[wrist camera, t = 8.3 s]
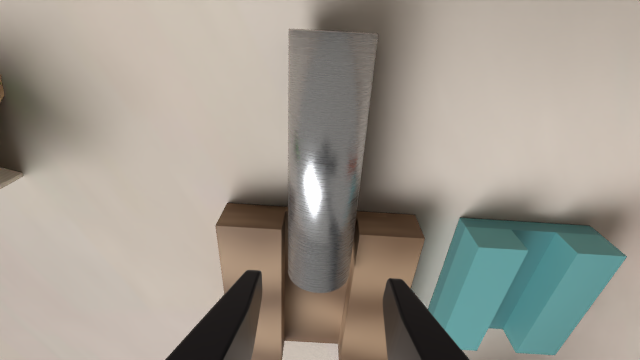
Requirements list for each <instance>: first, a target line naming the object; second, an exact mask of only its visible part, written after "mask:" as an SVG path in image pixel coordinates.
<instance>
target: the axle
mask: <svg viewBox="0 0 640 360" xmlns="http://www.w3.org/2000/svg"><path fill="white" fill-rule="evenodd" d="M377 41H378V34H376V33H362V32H345V31H327V30H307V29H289V92H288V274H289V277H290V279H291V280H292V282H293V283H294V284H295V285H297V286H298V287H299V288H301V289H303V290H306V291H309V292H313V293H327V292H331V291H334V290H337V289H339V288H340V287H342V286H343V285H344V284H345V283H346V281H347V280H348V277H349V273H350V264H351V256H352V248H353V240H354V231H355V223H356V215H357V206H358V198H359V190H360V181H361V173H362V165H363V157H364V148H365V140H366V132H367V123H368V115H369V107H370V99H371V90H372V82H373V74H374V65H375V57H376V49H377Z"/></svg>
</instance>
